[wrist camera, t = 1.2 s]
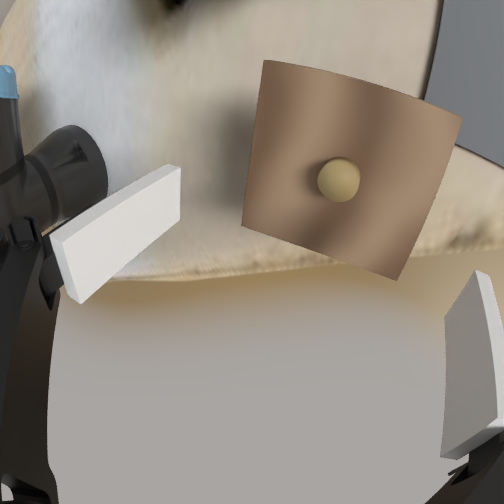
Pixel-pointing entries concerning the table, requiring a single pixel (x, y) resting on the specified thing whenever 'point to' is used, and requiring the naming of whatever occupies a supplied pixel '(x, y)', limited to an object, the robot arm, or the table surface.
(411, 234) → the lid
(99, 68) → the table surface
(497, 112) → the mat
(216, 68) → the table surface
